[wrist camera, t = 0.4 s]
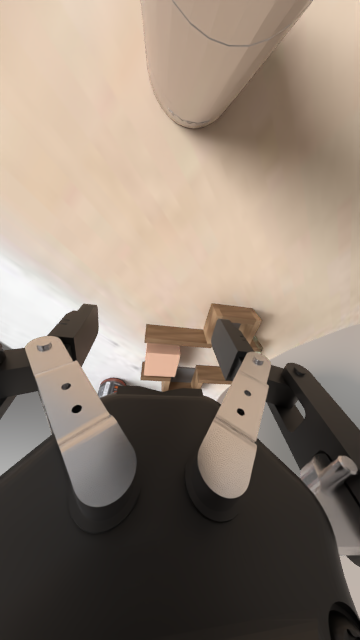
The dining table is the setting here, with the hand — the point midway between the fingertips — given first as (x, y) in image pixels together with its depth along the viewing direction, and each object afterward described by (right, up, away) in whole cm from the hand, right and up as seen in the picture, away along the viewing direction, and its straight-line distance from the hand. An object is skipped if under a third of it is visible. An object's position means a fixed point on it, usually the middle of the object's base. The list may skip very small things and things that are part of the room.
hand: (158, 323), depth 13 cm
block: (-2, -5, +26) cm, 27 cm away
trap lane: (+5, -6, +27) cm, 28 cm away
